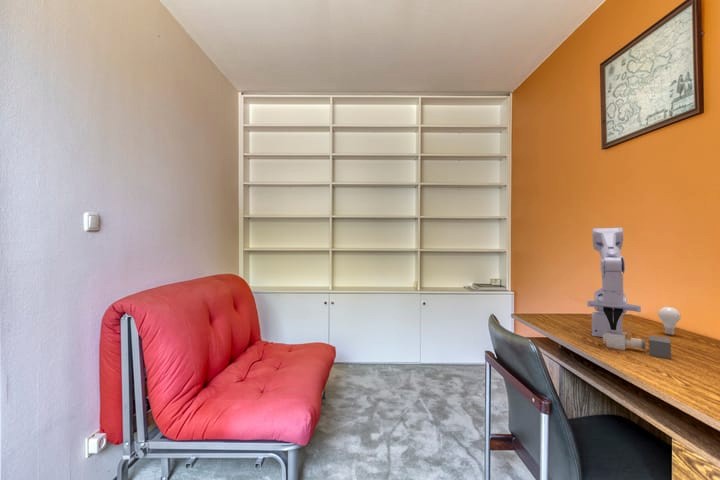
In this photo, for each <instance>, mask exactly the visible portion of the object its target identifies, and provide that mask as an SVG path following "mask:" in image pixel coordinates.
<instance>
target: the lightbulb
mask: <svg viewBox="0 0 720 480" xmlns="http://www.w3.org/2000/svg"><path fill="white" fill-rule="evenodd" d="M657 316H658V318H659V319H660V320H661V322H662V324H663V326H664V333H665V334H667V335H668V336H673V335H675V328H676V325H677V323H679V321H680V320H681V319H682V315H681V313H680V311H679V310H678V309H676V308H675V307H672V306H663V307H661V308H660V309H659V310H658V312H657Z"/></svg>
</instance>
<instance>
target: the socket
mask: <svg viewBox="0 0 720 480" xmlns="http://www.w3.org/2000/svg"><path fill="white" fill-rule="evenodd" d="M671 346H672V343H671V339H670V337H665V336H664V337H663V336H656V335H650V334H649V335H648V351H649V352H648V355H649V356H650V357H656V358H663V359H667V360H672V347H671Z"/></svg>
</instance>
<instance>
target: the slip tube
mask: <svg viewBox="0 0 720 480" xmlns="http://www.w3.org/2000/svg"><path fill="white" fill-rule="evenodd" d="M602 342H603V343H606V334H604V333H603V337H602ZM625 346H626V347H630V348H638V349H643V350H646V339H645V338H644V339H643V338H636V337H632V323H626V337H625Z"/></svg>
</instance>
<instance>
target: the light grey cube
mask: <svg viewBox="0 0 720 480" xmlns="http://www.w3.org/2000/svg"><path fill="white" fill-rule="evenodd" d="M625 337H627V331H625V332H624V331H622V332H619V331H612V330H607V332H606V342H605V346H606V348H609V349H610V348H611V349H614V350H615V349H616V350H622V351H626V347H627V346H625Z"/></svg>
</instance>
